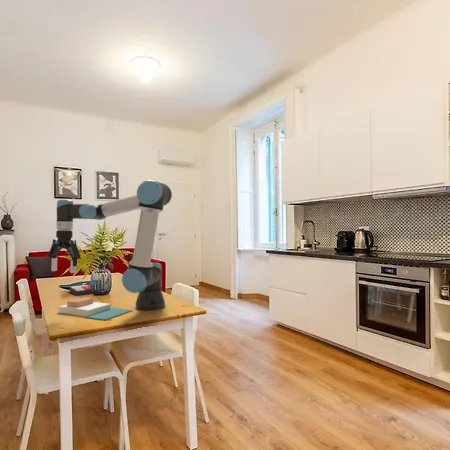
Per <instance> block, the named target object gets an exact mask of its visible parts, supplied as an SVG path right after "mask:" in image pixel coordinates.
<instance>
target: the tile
mask: <svg viewBox="0 0 450 450" xmlns="http://www.w3.org/2000/svg"><path fill="white" fill-rule="evenodd" d="M93 302H94V298H93V297H86V296H82V297H79V298H75V299H70V300H67V301H66V305H67V306H69V307H77V308H78V307H81V306H85V305H89V304H92V303H93Z"/></svg>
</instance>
